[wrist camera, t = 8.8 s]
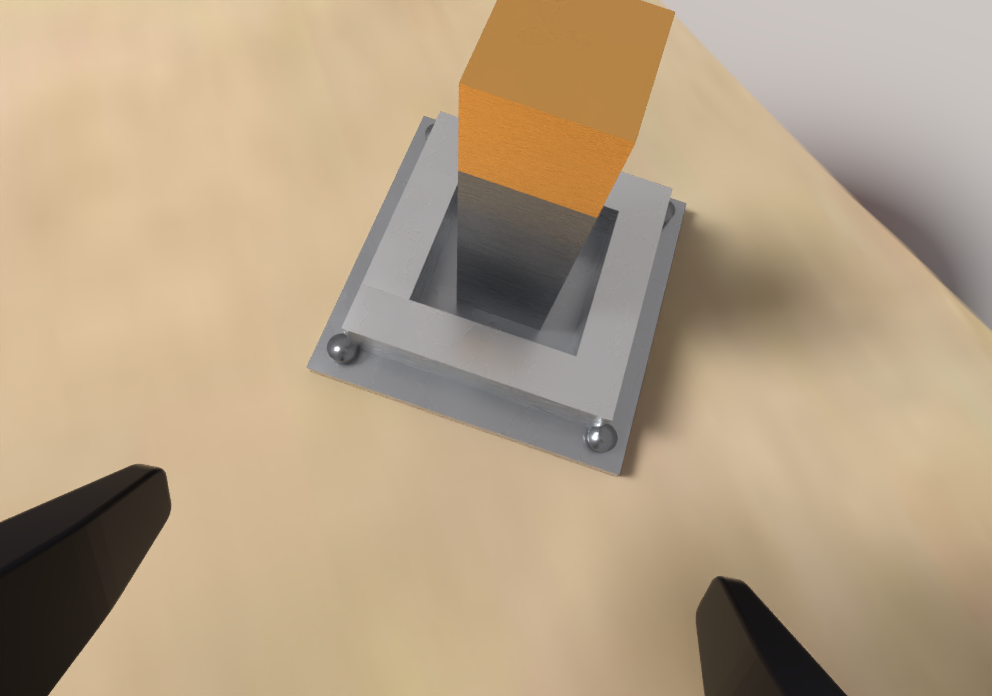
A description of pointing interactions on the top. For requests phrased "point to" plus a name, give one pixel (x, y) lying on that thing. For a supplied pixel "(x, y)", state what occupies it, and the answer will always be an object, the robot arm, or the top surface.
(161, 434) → the top surface
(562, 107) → the orange and grey post
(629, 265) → the metal post socket
